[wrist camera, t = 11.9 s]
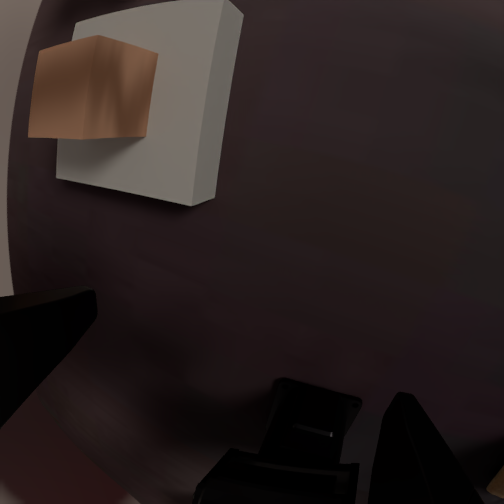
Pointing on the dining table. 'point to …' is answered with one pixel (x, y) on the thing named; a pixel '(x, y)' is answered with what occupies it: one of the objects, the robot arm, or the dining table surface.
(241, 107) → the dining table surface
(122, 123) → the terracotta cube
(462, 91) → the dining table surface
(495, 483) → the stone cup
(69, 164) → the grey base
